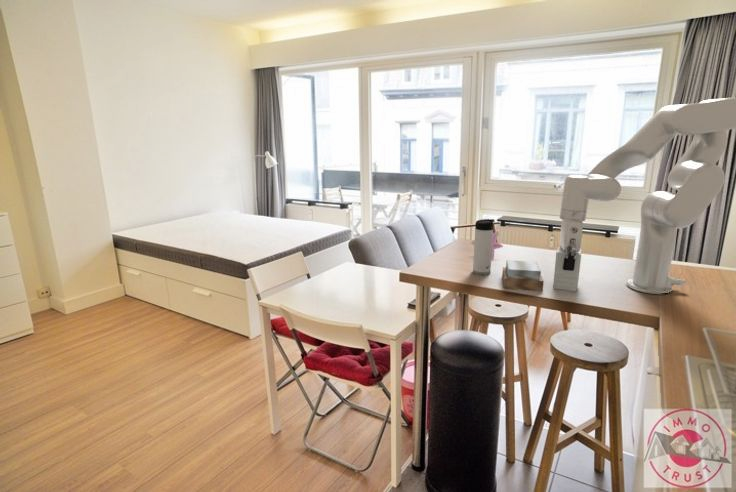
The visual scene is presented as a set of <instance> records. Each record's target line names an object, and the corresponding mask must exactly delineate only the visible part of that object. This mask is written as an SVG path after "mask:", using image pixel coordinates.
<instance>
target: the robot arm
mask: <svg viewBox="0 0 736 492" xmlns="http://www.w3.org/2000/svg"><path fill="white" fill-rule="evenodd" d="M734 129H736V97H724V98H722V97H721V98H711V99H706V100H702V101H700V102H696V103H683V104H670V105H666V106H664V107H661V108H660V109H659V110H658V111H657V112H655V113H654V114H653V116H651V118H650V119H648V120H647V122H646V123H645V124H644V125H643V126H642V127H641V128H640V129H639V130H638V131H637V132H636V133H635V134H634V135H633V136H632V137H631V138H630V139H629V140H628V141H627V142H626V143H625V144H622V145H621V146H620V147H618V148H617V149H615V150H614V151H613V152H611V153H609V154H608V155H607V156H605V158H603V159H602V160H601V161H599V162H598V164H596V166H594V167H593V168H592V169H591V170H590V172H588V173H587V174H586V175H579V174H577V175H576V174H571V175H568V176H566V177H565V180H564V184H563V190H562V200H561V205H560V212H559V219H560V220H562V221H561V225H560V230H559V231H560V232H559V238H558V239H559V240H558V241H559V244H558V245H559V247H562V249H563V250H564V251H565V253H566V258H564V263H563V270H568V271H573V270H574V266H575V259H576V251H577V252H579V251H580V249H582V247H581V245H582V236H583V222H586V218H587V210H588V207H589V200H595V201H598V202H599V201H601V202H610V201H613V200H615V199H617V198H618V197H619V196H620V194H621V192H622V185H621V183H620V182H619V181H618V180H617V179H616V178H617V177H618V176H619V175H621V174H622V173H624V172H626V171H628V170H629V169H633V168H634V167H638V166H641V165H643V164H645V163H646V164H647V163H648V162H650V161H651V160H653V159H654V157H656V155H658V153H660V151H662V150H663V149H664V148H665V147H666V146H667V144H669V143H670V142H671V141H672V140H673V139H674V138H675V137H676V136H692V135H693V138H692V141H691V143H690V145H689V146H688V147H687V149H686V151H685V152H684V153H683V155H682V156H681V157H680V158H679V159H678V161H677V163H676V164H675V165H674V166H673V168H672V169H671V170H670V172H669V173H668V176H667V185H669V186H670V188H671V189H673V190H675V191H677V192H676V193H675V192H670V191H666V190H665V191H664V190H658V191H654V192H650V193H649V194H648V195H647V196H646V197H645V198H644V199H643V200H642V203H641V207H640V221H641V222H640V233H639V239H638V245H637V251H636V257H635V258H636V259H635V265H634V271H633V275H632V278H629V279H627V281H626V285H627V287H629V288H630V289H632V290H634V291H637V292H640V293H641V292H642V293H644V294H651V295H652V294H653V295H661V294H660V293H668V294H670V293H672V292H673V287H674V285H675V286H681V287H682V286H684V287H685V286H686V280H685V279H678V277H671V276H670V271H671V265H672V259H673V254H674V249H675V245H676V239H677V237H676V236H677V229H685V228H688V227H690V226H692V224H694V223H695V222H696V221H697V220H698V219H699V218H700V217H701V216H702V214H703V213H704V212H705V211H706V210H707V208H708V207H709V206H710V205H711V204H712V202H713V201H714V199H716V197H717V196H718V195H719V193H720V192H721V190H722V189H723V186H724V183H725V179H726V178H725V177H726V176H725V172H724V170H723V168H722V167H720V165H717V163H718V161H719V160H720V158H721V157H722V156H723V154H724V152H725V151H726V149H727V145H728V134H727V131H730V130H734ZM568 252H569V254H568ZM671 291H672V292H671ZM669 292H670V293H669Z"/></svg>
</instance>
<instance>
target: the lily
mask: <svg viewBox="0 0 736 492" xmlns="http://www.w3.org/2000/svg"><path fill="white" fill-rule="evenodd" d="M499 234H500V231H495V232H493V239H492V255H491V260H493V259H494V258H495V250H496V249H501V248H503V247H504V245H503V244H501V243H499V242H497V240H498V238H499V237H498V236H499ZM470 244H471V245H473V246H474V240H472V241H471V242H470Z"/></svg>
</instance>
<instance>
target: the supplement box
mask: <svg viewBox="0 0 736 492" xmlns="http://www.w3.org/2000/svg"><path fill="white" fill-rule="evenodd" d="M568 254H569V252H568ZM564 258H566V253H565V251H564V250H563V249H562V247H560V246H558V247H557V250H556V252H555V263H554V272H553V273H554V274H553V285H552V287H553V289H557V290H565V291H571V292H577V291H578V286H579V279H580V272H581V271H580V269H581V264H582V263H581V262H582V248H580V251H579V252H577V251H576V259H575V266H574V270H573V271H568V270H563V263H564Z"/></svg>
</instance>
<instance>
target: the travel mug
mask: <svg viewBox="0 0 736 492" xmlns="http://www.w3.org/2000/svg"><path fill="white" fill-rule="evenodd" d="M495 221H496V220H495V219H494V218H492V219H491V218H490V219H489V218H484V219H478V220H476V221H475V228H474V240H473V241H474V245H473V259H472V261H473V262H472V263H473V264H472V265H473V266H472V273H474V274H475V275H478V276H488V275H490V274H491V267H492V259H491V255H492V239H493V233H494V223H496V222H495Z"/></svg>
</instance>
